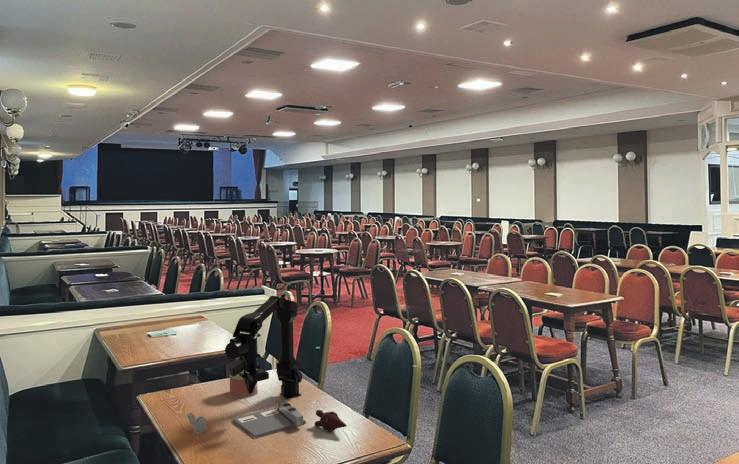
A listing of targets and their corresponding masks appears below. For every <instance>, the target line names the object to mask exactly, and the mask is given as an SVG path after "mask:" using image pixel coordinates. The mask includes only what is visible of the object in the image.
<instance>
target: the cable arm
mask: <svg viewBox="0 0 739 464" xmlns="http://www.w3.org/2000/svg"><path fill="white" fill-rule="evenodd" d="M277 407H278V410H280V411H281V412H282V413H283V414H284V415H285V416H287V417H288V418H289V419H290V420H291V421H292V422H293V423H294V424H296V425H299V426H302V425H301V424H303V419H304V415H303V414H302V413H301V412H300V411H298V410H297V408H296V407H293V406H292V405H291V404H290V403H289V402H288V401H286V400H285V399H278V400H277ZM303 425H304V424H303Z"/></svg>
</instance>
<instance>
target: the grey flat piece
mask: <svg viewBox="0 0 739 464" xmlns="http://www.w3.org/2000/svg"><path fill="white" fill-rule="evenodd" d="M186 418H187V419H188V422H189V423H190V425H193V434H195V435H199V434H201V433H204V432H205V431H206V430H207V427H206V425H207V421H206V417H204V416H203V415H199V416H196V417H195V415H194V413H193V412H188V413H187V415H186Z"/></svg>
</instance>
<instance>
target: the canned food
mask: <svg viewBox="0 0 739 464" xmlns="http://www.w3.org/2000/svg"><path fill="white" fill-rule="evenodd" d="M239 374H240V373H239ZM239 374H237V375H236V376H234V377H232V376H231V375H229V396H230V397H232V398H235V399H246V398H247V399H248V398H251V397H254V396H256V395H258V382H257V383H256V386H255V388H254V390H253V392H252V393H251V394H249V393H248V391H247V387H246V384H245V381H244V379H243V378H242V377H241V376H240V375H239Z"/></svg>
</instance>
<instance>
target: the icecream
mask: <svg viewBox="0 0 739 464" xmlns="http://www.w3.org/2000/svg"><path fill="white" fill-rule="evenodd" d="M315 415H316V416H317V417H319V420H316V421H315V422H314V426H315V427H316V428H320V427H321V428H322V429H323V430H324V431H326V432H329V433H333V432H334V431H335V430H336V429H341V428H346V427H347V424H346V423H345V422H344V421H343V420H342V419H341V418H340V417H339V415H338V413H337V412H335V411H327V412H324V411H323V410H320V409H317V410H316V412H315Z"/></svg>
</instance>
